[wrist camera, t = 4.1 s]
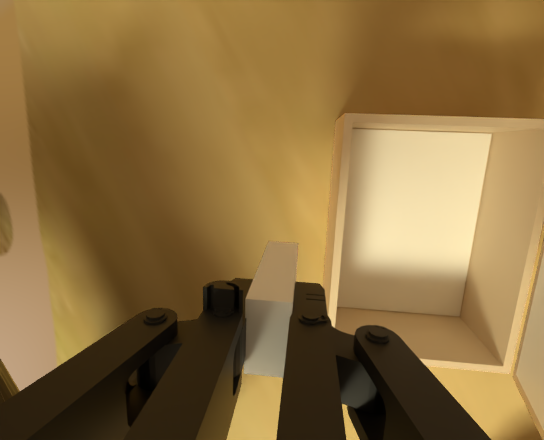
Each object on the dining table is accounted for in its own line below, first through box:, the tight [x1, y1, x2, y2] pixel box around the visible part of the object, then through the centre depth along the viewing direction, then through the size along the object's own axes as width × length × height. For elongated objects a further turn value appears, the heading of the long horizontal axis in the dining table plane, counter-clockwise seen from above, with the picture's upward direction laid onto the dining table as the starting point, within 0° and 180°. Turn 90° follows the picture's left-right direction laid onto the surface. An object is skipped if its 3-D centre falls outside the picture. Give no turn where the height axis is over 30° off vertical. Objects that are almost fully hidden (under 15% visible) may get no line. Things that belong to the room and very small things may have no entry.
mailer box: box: [323, 113, 544, 374], centre depth 24 cm, size 12×16×7 cm
